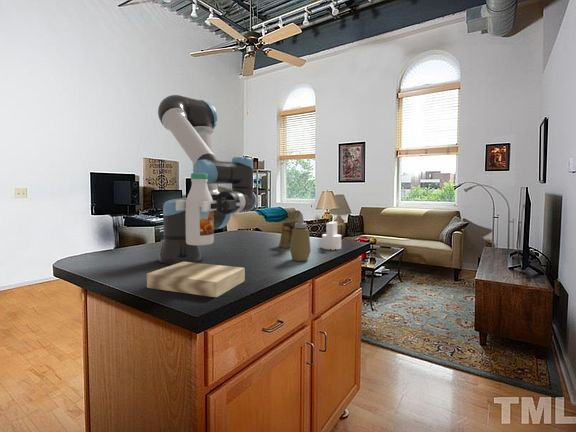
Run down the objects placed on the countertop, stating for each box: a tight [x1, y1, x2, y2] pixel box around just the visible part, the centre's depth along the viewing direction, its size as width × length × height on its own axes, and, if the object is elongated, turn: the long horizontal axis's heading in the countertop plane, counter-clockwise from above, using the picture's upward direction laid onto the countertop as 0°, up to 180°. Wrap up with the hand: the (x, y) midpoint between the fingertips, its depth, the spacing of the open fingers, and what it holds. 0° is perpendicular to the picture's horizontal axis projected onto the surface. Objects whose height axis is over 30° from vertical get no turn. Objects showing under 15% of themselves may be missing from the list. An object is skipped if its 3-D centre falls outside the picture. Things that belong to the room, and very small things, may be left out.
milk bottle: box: [186, 172, 215, 246], centre depth 94 cm, size 8×8×20 cm
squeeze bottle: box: [289, 213, 311, 262], centre depth 129 cm, size 8×8×18 cm
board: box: [146, 262, 246, 298], centre depth 96 cm, size 22×16×4 cm
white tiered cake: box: [321, 221, 342, 251], centre depth 157 cm, size 9×9×12 cm
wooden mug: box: [278, 210, 303, 249], centre depth 156 cm, size 9×14×18 cm, turn 27°
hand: (189, 206), depth 90 cm, fingers closed on milk bottle, 7 cm apart
